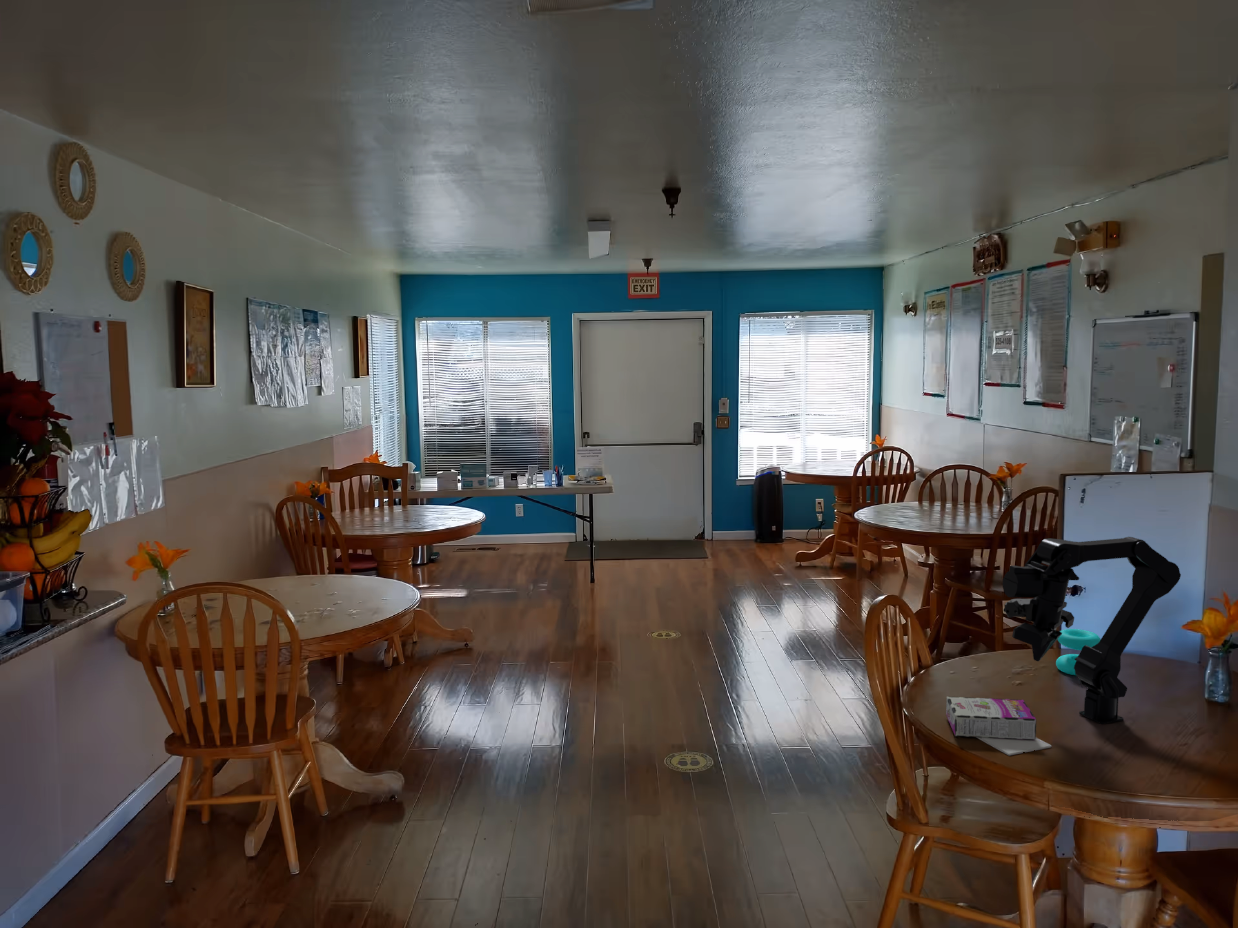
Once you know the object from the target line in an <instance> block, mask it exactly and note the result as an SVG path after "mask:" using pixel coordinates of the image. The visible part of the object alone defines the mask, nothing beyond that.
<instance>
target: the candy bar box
mask: <svg viewBox="0 0 1238 928" xmlns="http://www.w3.org/2000/svg"><path fill="white" fill-rule="evenodd" d="M945 704H946V705H945V708H946V709H945V716H946V718H947V720H948V723H949V725H950V727H951V730H952V732H953V734H954V736H955V737H966V738H967V737H969V738H976V737H987V738H1008V739H1026V740H1035V739H1036V738H1037V719H1036V718H1037V717H1035V716H1036V715H1034V714H1033V711H1031V709H1030V707H1029V706H1028V704H1027V703H1026V702H1025V700H1024V699H1015V698H1013V699H1012V698H1010V699H1009V698H989V697H988V698H986V697H985V698H984V697H966V696H946V703H945Z"/></svg>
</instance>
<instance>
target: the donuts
mask: <svg viewBox="0 0 1238 928" xmlns="http://www.w3.org/2000/svg"><path fill="white" fill-rule="evenodd" d="M1059 632H1062V635H1061V636H1060V637H1059V638H1058V639H1057V641H1058V643H1059V644H1060V645H1061V646H1064V647H1066V648H1067V649H1070V650H1076V651H1081V650H1082V648H1083V647H1084V646H1085V645H1087V646H1089V647H1093V646H1095V645H1096V644H1098V643H1099V641H1100V640H1101V637H1100V636H1099V635H1098V634H1097V633H1095V632H1093V631H1089V630H1085V629H1078V628H1067V629H1063V630H1059ZM1078 655H1079V654H1076V653H1068V654H1063V655H1060V656H1059V657H1058V658H1056V661H1055V666H1056V668H1057V669H1058V670H1059V671H1061V672H1062V673H1064V674H1067V675H1071V676H1076V674H1075V669H1074V665H1075V663H1076V660H1075V658H1076V657H1078ZM1076 677H1077V676H1076Z"/></svg>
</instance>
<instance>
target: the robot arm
mask: <svg viewBox="0 0 1238 928" xmlns="http://www.w3.org/2000/svg"><path fill="white" fill-rule="evenodd" d="M1116 559H1117V560H1118V559H1127V560H1128V563H1129V564H1130V565H1131V566H1132V567H1133V568H1135V569H1134V571H1133V573H1132V577H1131V578H1132V580H1131V581H1132V583H1131V584H1132V585H1131V586H1132V588H1131V590H1130V592H1129V594H1128V595H1127V597H1126V599H1125V600H1124V602H1123V603H1122V605H1121V606H1120V608H1119V610H1118V611H1117V613H1116V615H1115V616H1114V618H1113V619H1112V620H1111V622H1110V624H1109V625H1108V627H1107V629H1106V631H1105V632H1104V634H1103V636H1102V637H1100V639H1101V640H1100V641H1099V643H1098V644H1096V645H1095V646H1093V647H1089V646H1087V645H1085V646H1084V647H1083V648H1082V650H1080V652H1079V654H1078V657H1076V658H1075V660H1076V663H1075V665H1074V669H1075V674H1076V677H1077V678H1078V679H1079V683H1080V685H1081V686H1083V687H1086V688H1087V689H1086V690H1085V696H1084V701H1083V703H1084V704H1083V706H1084V707H1083V709H1084V710H1081V711H1079V712H1078V714H1079V716H1080V715H1081V716H1082V717H1085V718H1087V719H1090V720H1092V721H1093V722H1096V723H1099V724H1101V725H1106V724H1110V723H1111V724H1112V723H1116V722H1120V721H1124V717H1123V716H1121V715H1119V699H1120V698H1125V696H1126V694H1127V690H1128V687H1127V686H1126V684H1124V682H1122V681H1121V679H1119V678H1118V677H1119V674H1120V672H1121V670H1122V669H1121V665H1122V664H1121V663H1122V661H1121V660H1122V659H1121V656H1122V654H1123V652H1124V651H1125V649H1126V648H1127V646H1128V644H1129V643H1130V641H1131V640H1132V638H1133V636H1135V634H1136V632H1137V630H1138V629H1139V628H1140V625H1141V624H1142V623H1143V621H1144V620H1145V618H1146V617H1147V614H1148V612H1150V610H1151V608H1152V606H1153V605H1154V604H1155V602H1156V601H1157V600H1159V599H1161V598H1162V597H1165V596H1166V595H1168V594H1169V593H1170V592H1171V591H1172V590H1173V589H1174V588H1175V587H1176V585H1178V583H1179V581H1180V579H1181V576H1182V574H1181V571H1180V568H1179V565H1177V563H1175V562H1172V561H1169V560H1168V559H1167V558H1166V557H1165V556H1163V555H1162V554H1161V553H1159V552H1157V550H1155V549H1154V548H1152V547H1151V545H1149V543H1147V542H1146V540H1144V539H1141V538H1135V537H1133V536H1126V537H1121V538H1111V539H1110V538H1109V539H1099V540H1098V539H1097V540H1086V541H1071V540H1066V539H1058V538H1051V537H1050V538H1044V539H1043V540H1041V542H1040V543H1039V544H1038V546H1037V548H1036V550H1035V551H1034V552H1033V553H1032V555H1031V556H1030V557H1029V559H1028V560H1027V561H1026V562H1025V563H1024V566H1019V565H1010V566H1009V569H1008V570H1007V572H1005V574H1004V577H1003V578H1002V584H1001V585H1002V589H1003V592H1004V594H1005V595H1006V596H1007V597H1008V598H1011V599H1010V600H1008V601H1007V602H1005V604H1004V608H1003V610H1002V611H1003V612H1004V613H1005V615H1006V616H1007V617H1008V618H1009V619H1011V618H1025V621H1026V622H1023V623H1021V624H1019V625H1018V626H1016V627H1014V628H1013V631H1012V636H1011V637H1012V638H1013V639H1015V640H1017V641H1021V642H1023V643H1025V644H1028V645H1031V649H1032V657H1033V660H1034V661H1035V662H1040V661H1041V660H1042V658H1044V656H1046V654H1047V652H1048V651H1049V650H1050V649H1051V648H1052V646H1053V645H1054V644H1055V643H1056V641H1058V638H1059V637H1060V636H1061V635H1062V632H1060V630H1057V628H1058V627H1060V626H1061V625H1062V624H1063V623H1065V624H1064V626H1065V628H1067V629H1070V628H1071V627H1072V626H1073V625H1074V623H1075V622H1074V621H1075V616H1074V615H1073V614H1072V612H1070V611H1068V610H1065V608H1066V607H1067V605H1068V602H1067V601H1066V595H1067V590H1068V587H1069V582H1070V581H1079V580H1080V577H1079V576H1078V575H1077V574H1076V573H1075V571H1074V568H1076V567H1079V566H1080V565H1082V564H1084V563H1086V562H1094V561H1106V560H1116ZM1027 622H1030V623H1027Z"/></svg>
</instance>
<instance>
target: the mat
mask: <svg viewBox="0 0 1238 928" xmlns="http://www.w3.org/2000/svg"><path fill="white" fill-rule="evenodd" d="M975 738H976V739H978V740H979V741H982V742H984V743H986V744H987V745H988V746H991V747H993V748H994V749H996V750H998V751H1000V752H1002V753H1003V754H1005V755H1007V756H1013V755H1018V754H1024V753H1023V752H1025V753H1028V752H1033V751H1034V750H1035V751H1039V750H1040V751H1041V750H1045V749H1050V748H1052V745H1051V744H1050V743H1048V742H1045V741H1044V740H1041V739H1040V738H1038V737H1036V739H1035V740H1026V739H1008V738H987V737H975Z"/></svg>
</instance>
